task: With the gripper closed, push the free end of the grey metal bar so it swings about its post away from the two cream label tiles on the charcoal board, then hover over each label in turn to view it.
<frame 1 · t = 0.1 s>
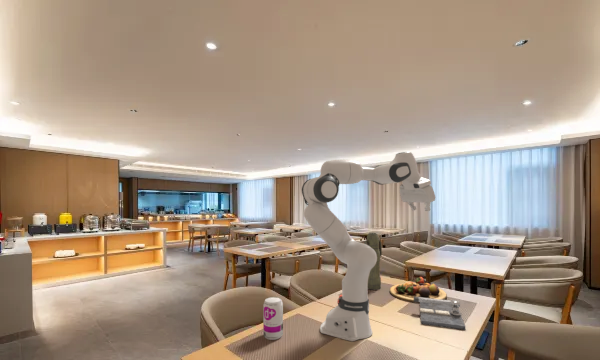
hand: (420, 210, 143), 52 cm above the table, tool tilted 20°, fingers open, 8 cm apart
wooden plate with food: (417, 295, 176), on the table
board: (440, 316, 144), on the table
dark olive tall piece: (374, 288, 189), on the table
swing bar: (436, 301, 146), point 7 cm above the table, hinge at 0.0°
supplement can: (273, 336, 124), on the table
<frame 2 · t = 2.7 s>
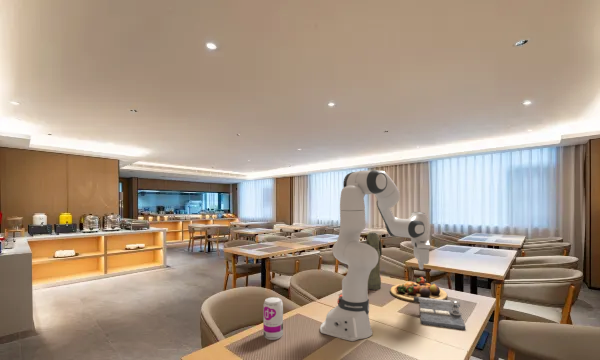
hand: (421, 268, 155), 20 cm above the table, tool pointing down, fingers closed
nothing on the table moved.
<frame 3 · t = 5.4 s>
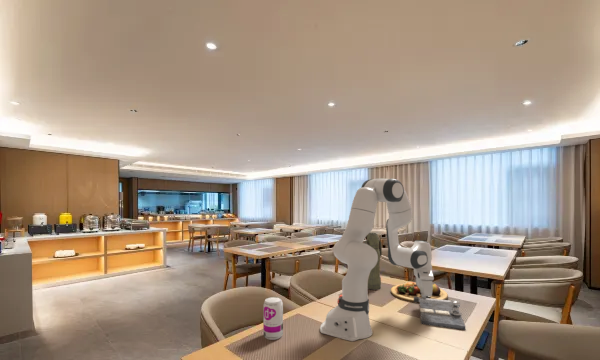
hand: (423, 299, 150), 6 cm above the table, tool pointing down, fingers closed
swing bar: (436, 301, 145), point 7 cm above the table, hinge at 0.6°, touching gripper
everything else where it was.
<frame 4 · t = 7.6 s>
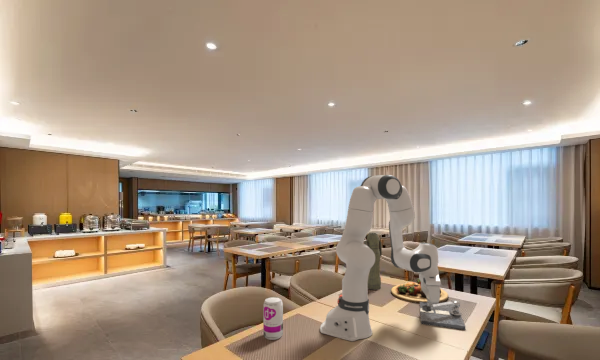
hand: (429, 305, 140), 6 cm above the table, tool pointing down, fingers closed
swing bar: (441, 305, 140), point 7 cm above the table, hinge at 41.0°, touching gripper
everything else where it was.
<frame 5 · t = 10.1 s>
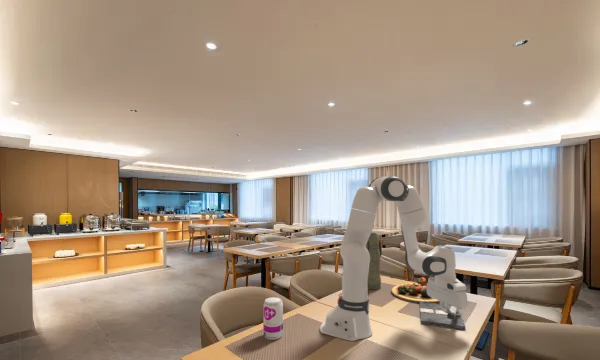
hand: (445, 312, 133), 6 cm above the table, tool pointing down, fingers closed
swing bar: (453, 309, 135), point 7 cm above the table, hinge at 77.8°, touching gripper
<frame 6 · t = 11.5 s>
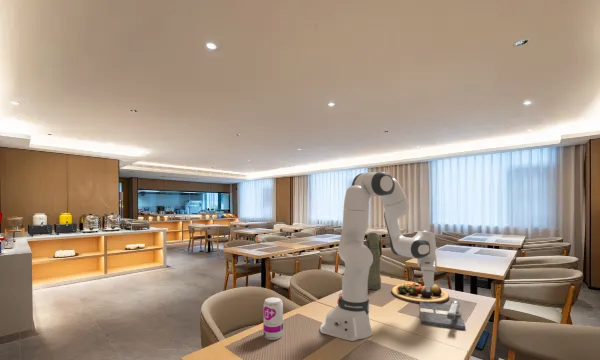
hand: (428, 290, 146), 12 cm above the table, tool pointing down, fingers closed
swing bar: (453, 309, 135), point 7 cm above the table, hinge at 77.8°
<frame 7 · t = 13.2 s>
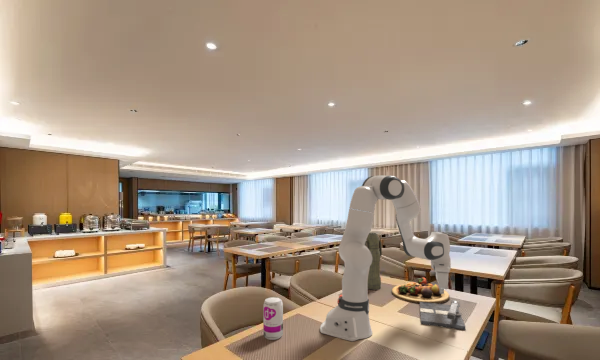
hand: (441, 293, 144), 11 cm above the table, tool pointing down, fingers closed
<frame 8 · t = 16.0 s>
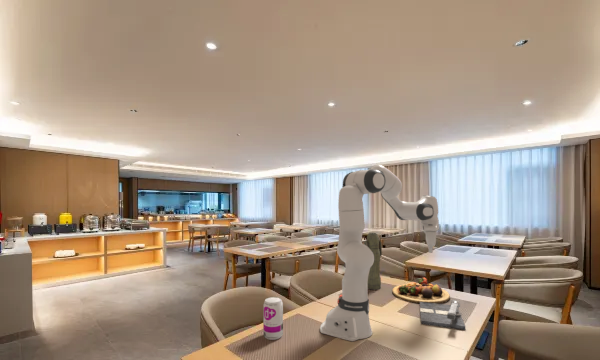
hand: (430, 252, 155), 29 cm above the table, tool pointing down, fingers closed
at the end: swing bar at +78° (first picture: +0°); swing bar touching nothing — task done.
